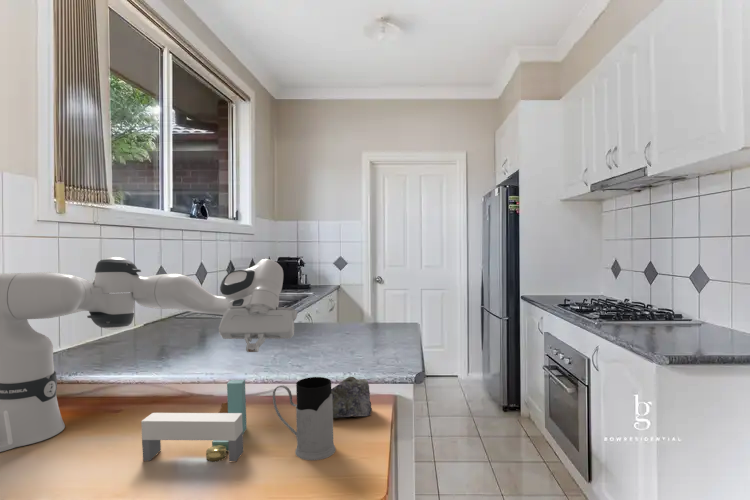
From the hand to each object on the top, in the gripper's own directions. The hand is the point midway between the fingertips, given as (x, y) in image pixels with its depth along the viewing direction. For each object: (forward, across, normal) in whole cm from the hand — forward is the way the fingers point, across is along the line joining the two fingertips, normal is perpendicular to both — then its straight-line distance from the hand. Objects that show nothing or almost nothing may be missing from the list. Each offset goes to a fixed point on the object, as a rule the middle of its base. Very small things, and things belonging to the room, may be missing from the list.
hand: (251, 351), depth 125 cm
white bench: (+29, +5, +6) cm, 30 cm away
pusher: (+23, 0, 0) cm, 23 cm away
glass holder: (+26, -18, +3) cm, 32 cm away
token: (+29, 0, +6) cm, 30 cm away
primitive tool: (+14, +7, -10) cm, 18 cm away
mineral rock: (+13, -25, -10) cm, 30 cm away
